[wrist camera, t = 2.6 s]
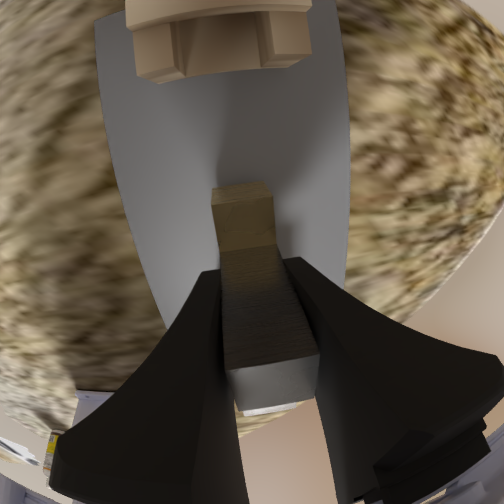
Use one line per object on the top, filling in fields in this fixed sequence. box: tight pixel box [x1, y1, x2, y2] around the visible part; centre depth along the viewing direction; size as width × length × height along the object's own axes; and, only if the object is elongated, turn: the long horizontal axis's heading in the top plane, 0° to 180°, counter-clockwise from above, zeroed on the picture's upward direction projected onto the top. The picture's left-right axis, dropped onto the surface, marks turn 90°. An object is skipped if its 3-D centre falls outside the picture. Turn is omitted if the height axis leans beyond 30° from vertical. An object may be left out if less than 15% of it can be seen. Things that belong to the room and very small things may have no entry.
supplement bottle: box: [43, 430, 65, 489], centre depth 21 cm, size 6×6×10 cm
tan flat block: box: [211, 181, 320, 411], centre depth 11 cm, size 2×12×7 cm, turn 6°
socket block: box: [125, 0, 312, 84], centre depth 6 cm, size 5×4×4 cm
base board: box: [94, 0, 350, 330], centre depth 13 cm, size 10×22×1 cm, turn 6°
